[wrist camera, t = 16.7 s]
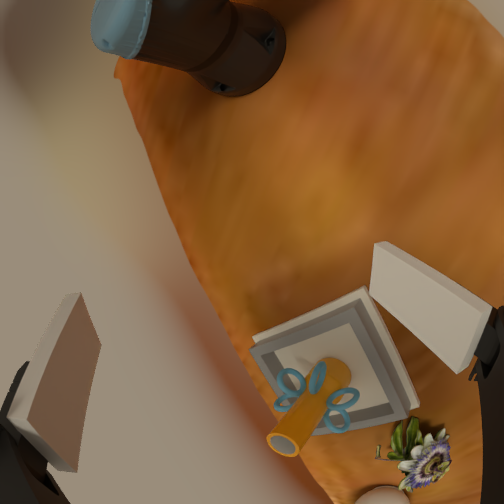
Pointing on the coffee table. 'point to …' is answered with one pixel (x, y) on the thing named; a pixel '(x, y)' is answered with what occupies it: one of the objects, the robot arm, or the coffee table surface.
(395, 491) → the lidded bowl
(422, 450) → the passion flower
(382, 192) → the coffee table surface
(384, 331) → the holder tray
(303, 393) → the orange tube
